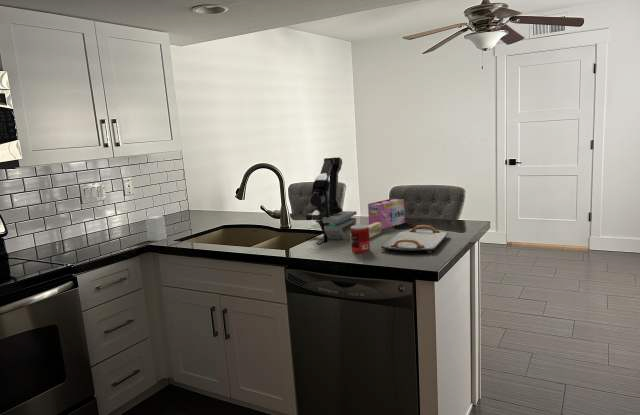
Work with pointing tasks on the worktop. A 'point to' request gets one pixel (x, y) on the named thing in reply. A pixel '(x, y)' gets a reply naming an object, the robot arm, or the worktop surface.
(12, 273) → the worktop surface
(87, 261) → the worktop surface
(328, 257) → the worktop surface
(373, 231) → the maple stop board
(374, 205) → the gum box
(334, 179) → the robot arm
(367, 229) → the canned food
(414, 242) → the serving board
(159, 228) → the supplement box
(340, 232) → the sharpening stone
